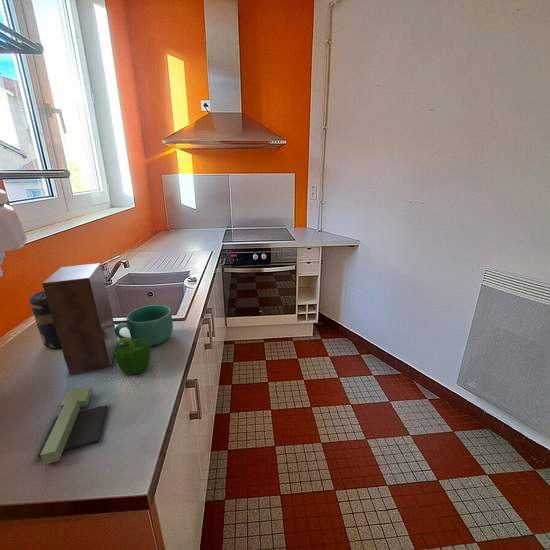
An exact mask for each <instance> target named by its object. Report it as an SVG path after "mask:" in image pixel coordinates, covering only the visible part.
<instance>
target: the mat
mask: <svg viewBox="0 0 550 550" xmlns="http://www.w3.org/2000/svg"><path fill="white" fill-rule="evenodd" d="M107 410H108V405H107V404H106V405H101V406H96V407H93V408H89V409H84V410H79V412H78V415H77V417H76V420H75V422H74V425H73V427H72V430H71V432H70V435H69V437H68V440H67V442H66V445H65V447H64V450H63V452H67V451H69V450H73V449H77V448H81V447H85V446H89V445H92V444H96V443H99V441H100V438H101V434H102V429H103V426H104V421H105V418H106V414H107ZM58 417H59V415H58V416H55V418H54V419H53V422H52V425H51V427H50V429H49V431H48V433H47V435H46V437H45V439H44V442H43V444H42V446H41V448H40V451H39V452H38V455H37V457H38V458H41V456H40V454H41V452H42V450H43V448H44V446H45V444H46V442H47V440H48V438H49V436H50V434H51V431H52V429H53V427H54V425H55V423H56V421H57V419H58Z"/></svg>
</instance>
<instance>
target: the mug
mask: <svg viewBox="0 0 550 550" xmlns="http://www.w3.org/2000/svg"><path fill="white" fill-rule="evenodd" d="M173 324H174V323H173V316H172V310H171V308H170V307H169V306H168V305H164V304H163V305H162V304H151V305H145V306H142V307H138V308H135V309H134V310H132V311H130V312H129V313H128V314H127V315H126V322H120V323H119V324H117V325H116V326H115V334H116V336H117V338H118V339H119V340H120V339H122V338H128V339H137V338H140V337H142V338H143V339H144V340H145V341H146V342H147V343H148V344H149V346H150V347H151V346H157V345H159V344H161V343H163V342H165V341H166V340H167V339H168V338H170V337H171V335H172V333H173V330H174V325H173ZM123 328H126V329H127V330H128V331H129V335H130V337H128V336H124V335H122V334H121V333H120V331H121V330H122V329H123Z"/></svg>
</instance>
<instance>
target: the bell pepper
mask: <svg viewBox="0 0 550 550" xmlns="http://www.w3.org/2000/svg"><path fill="white" fill-rule="evenodd" d="M128 338H129V337H128ZM128 338H122V339H120V338H119V339H118V343H120V344H117V346H116V348H115V353H114V359H115V362H116V364H117V366H118V368H119V369H120V370H121V372H122V373H124V374H125V375H132V374H136V375H137V374H141V373H143V372H145V371H146V370H147V369H148V367H149V365H150V358H151V346H149V344H148V343H147V342H146V341H145V340H144V339H143V338H142V337H140V338H137V339H128Z"/></svg>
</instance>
